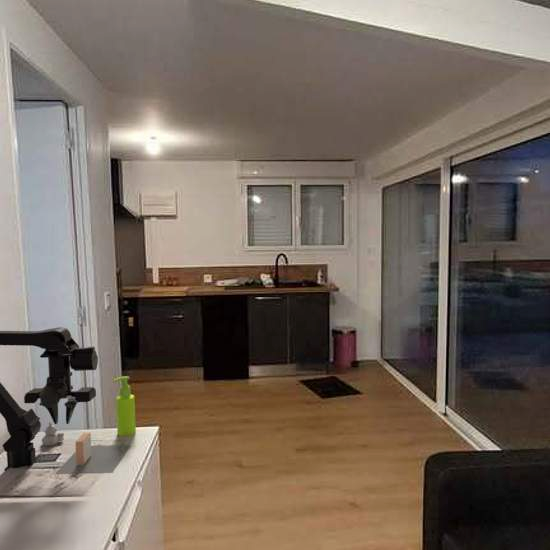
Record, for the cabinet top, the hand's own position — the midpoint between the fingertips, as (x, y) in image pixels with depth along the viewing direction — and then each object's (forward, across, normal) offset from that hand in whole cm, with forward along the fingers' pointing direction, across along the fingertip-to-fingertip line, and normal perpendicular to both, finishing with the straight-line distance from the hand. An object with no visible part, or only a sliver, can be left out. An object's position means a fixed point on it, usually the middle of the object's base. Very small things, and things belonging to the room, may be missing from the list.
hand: (62, 423), depth 137 cm
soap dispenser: (+12, +12, +20) cm, 26 cm away
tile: (+11, +6, 0) cm, 13 cm away
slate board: (+12, +9, +1) cm, 15 cm away
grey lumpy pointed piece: (+12, -9, +13) cm, 20 cm away
